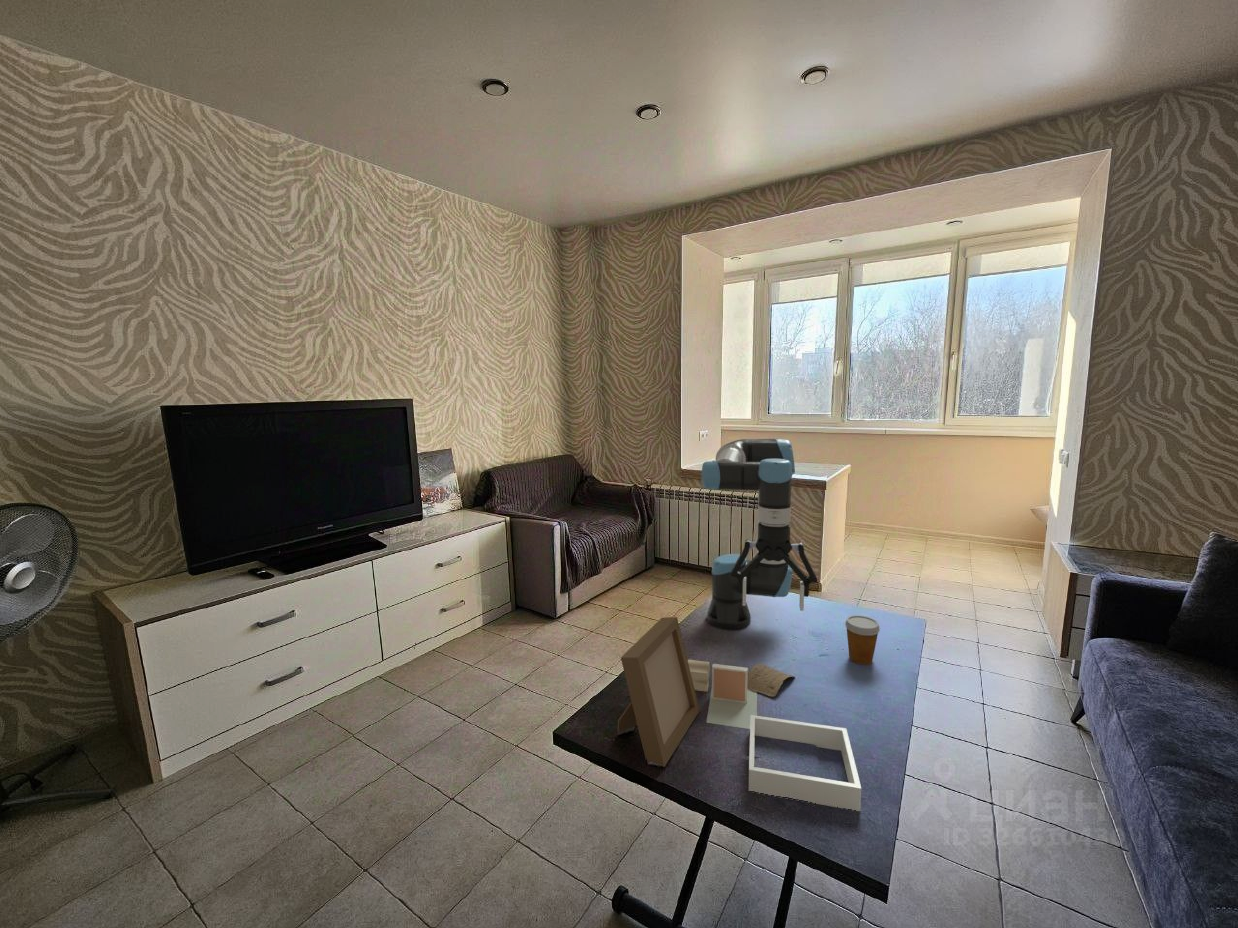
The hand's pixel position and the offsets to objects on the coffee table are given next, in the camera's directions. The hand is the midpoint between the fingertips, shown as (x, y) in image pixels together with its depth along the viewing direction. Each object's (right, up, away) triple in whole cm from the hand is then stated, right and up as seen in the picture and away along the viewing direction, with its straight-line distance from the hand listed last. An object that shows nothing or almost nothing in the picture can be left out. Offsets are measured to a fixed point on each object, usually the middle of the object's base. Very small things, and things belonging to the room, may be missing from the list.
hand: (772, 605), depth 126 cm
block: (-16, -27, +15) cm, 35 cm away
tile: (-9, -27, +8) cm, 29 cm away
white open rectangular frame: (+1, -31, -16) cm, 35 cm away
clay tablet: (+4, -26, +16) cm, 30 cm away
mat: (-8, -28, +6) cm, 30 cm away
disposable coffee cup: (+35, -24, +27) cm, 50 cm away
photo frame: (-29, -30, -3) cm, 42 cm away
